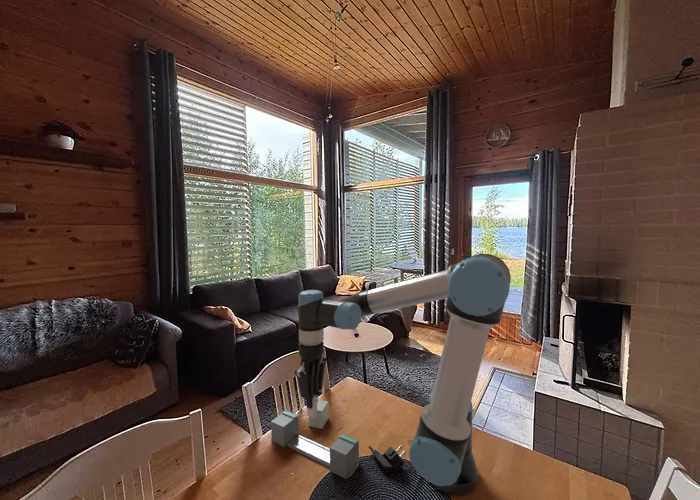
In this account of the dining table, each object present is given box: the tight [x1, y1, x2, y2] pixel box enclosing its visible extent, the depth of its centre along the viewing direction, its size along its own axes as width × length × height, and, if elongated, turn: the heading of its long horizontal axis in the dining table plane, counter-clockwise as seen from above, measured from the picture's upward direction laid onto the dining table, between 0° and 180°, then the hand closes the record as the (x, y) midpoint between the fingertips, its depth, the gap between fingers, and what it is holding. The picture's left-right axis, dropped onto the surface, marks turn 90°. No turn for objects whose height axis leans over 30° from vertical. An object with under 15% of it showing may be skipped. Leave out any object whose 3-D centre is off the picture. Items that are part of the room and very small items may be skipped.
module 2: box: [308, 399, 329, 430], centre depth 109 cm, size 5×6×7 cm
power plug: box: [368, 444, 407, 473], centre depth 91 cm, size 6×8×12 cm
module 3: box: [329, 433, 360, 480], centre depth 89 cm, size 6×7×7 cm
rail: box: [285, 434, 360, 478], centre depth 95 cm, size 30×5×1 cm, turn 58°
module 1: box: [270, 410, 300, 448], centre depth 101 cm, size 6×7×7 cm
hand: (312, 415), depth 94 cm, fingers closed
